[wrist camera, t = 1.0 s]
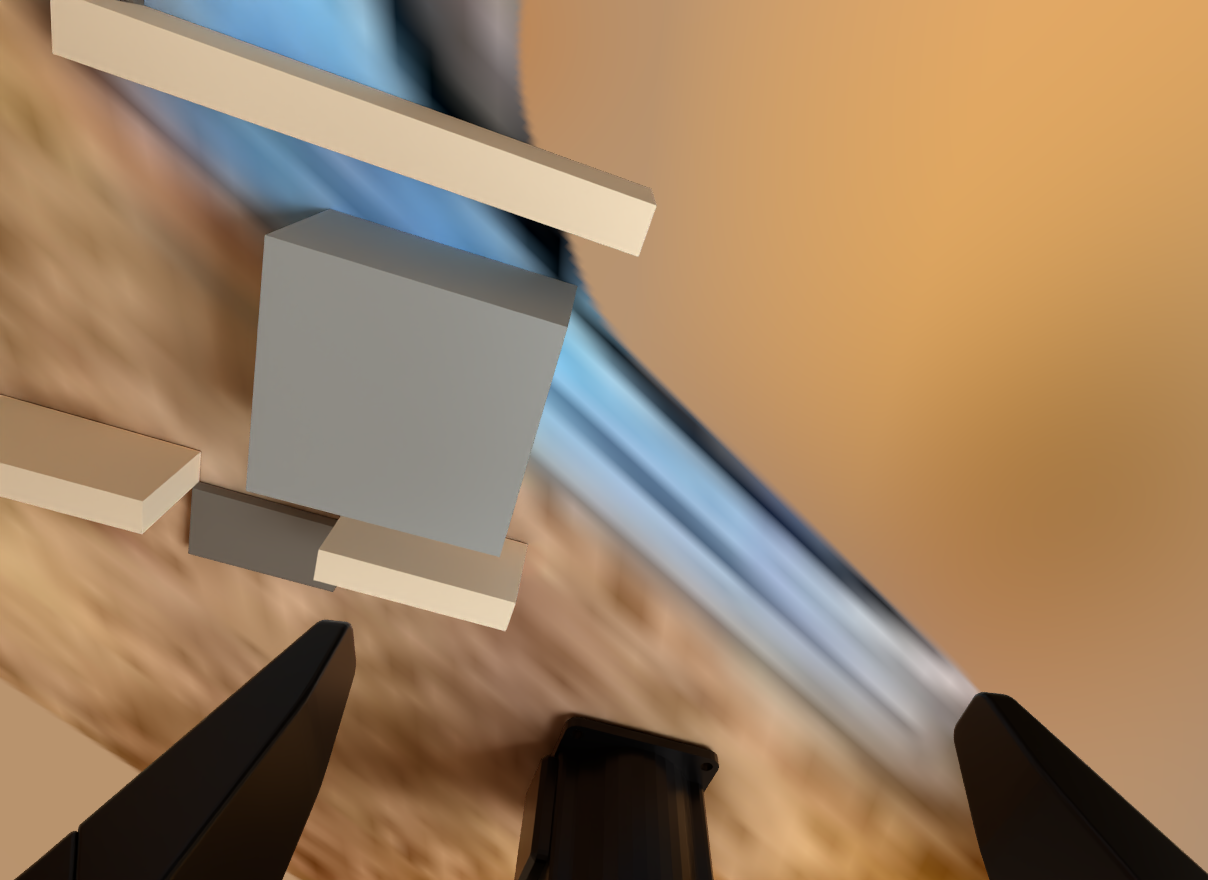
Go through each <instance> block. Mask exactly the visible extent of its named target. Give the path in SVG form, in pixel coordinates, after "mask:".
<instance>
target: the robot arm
mask: <svg viewBox="0 0 1208 880" xmlns="http://www.w3.org/2000/svg"><path fill="white" fill-rule="evenodd" d="M355 668H356V657H355V646H354V636H353V628H352V626H351V624H350V623H348V622H343V621H334V620H321V621H319V622H317V623H316V624H315V625H313V626H312V627H311V628H310V629H309V630H308V631H306V632H305V633H304V634H303V635H302V636H301V637H299V638H298V639H297V640H296V641H295V642H294V643H292V644H291V645H290V646H289V647H288V648H287V649H285V650H284V651H283V652H282V653H281V654H279V655H278V656H277V657H276V658H275V659H274V660H272V661H271V662H270V663H269V664H268V665H267V666H265V667H264V668H263V669H262V670H261V671H260V672H258V673H257V674H256V675H255V676H254V677H253V678H251V679H250V680H249V681H248V682H247V683H245V684H244V685H243V686H242V687H241V688H240V689H238V690H237V691H236V692H235V693H234V694H233V695H231V696H230V697H229V698H228V699H227V700H226V701H224V702H223V703H222V704H221V705H220V706H219V707H217V708H216V709H215V710H214V711H213V712H212V713H210V714H209V715H208V716H207V717H206V718H204V719H203V720H202V721H201V722H200V723H199V724H197V725H196V726H195V727H194V728H193V729H192V730H190V731H189V732H188V733H187V734H186V735H185V736H183V737H182V738H181V739H180V740H179V741H178V742H176V743H175V744H174V745H173V746H172V747H170V748H169V749H168V750H167V751H166V752H165V753H163V754H162V755H161V756H160V757H159V758H158V759H156V760H155V761H154V762H153V763H152V764H151V765H149V766H148V767H147V768H146V769H145V770H144V771H142V772H141V773H140V774H139V775H138V776H137V777H135V778H134V779H133V780H132V781H131V782H130V783H128V784H127V785H126V786H125V787H124V788H122V789H121V790H120V791H119V792H118V793H117V794H115V795H114V796H113V797H112V798H111V799H110V800H108V801H107V802H106V803H105V804H104V805H103V806H101V807H100V808H99V809H98V810H97V811H95V812H94V813H93V814H92V815H91V816H90V817H88V818H87V819H86V820H85V821H84V822H83V823H82V824H80V826H79V828H78V832H77V831H73V832H71V833H69V834H68V835H67V836H66V837H65V838H63V839H62V840H61V841H60V842H59V843H58V844H56V845H55V846H54V847H53V848H52V849H51V850H50V851H48V852H47V853H46V854H45V855H44V856H42V857H41V858H40V859H39V860H38V861H37V862H35V863H34V864H33V865H32V866H30V867H29V868H28V869H27V870H25V871H24V872H23V873H22V874H21V875H19V876H18V877H17V878H16V879H14V880H282V879H283V877H284V874H285V872H286V870H287V867H288V865H289V863H290V860H291V858H292V855H293V853H294V851H295V848H296V846H297V843H298V841H299V839H300V836H301V834H302V832H303V829H304V827H305V824H306V822H307V820H308V817H309V815H310V812H311V810H312V808H313V805H314V803H315V800H316V798H317V795H318V793H319V790H320V787H321V785H322V781H323V778H324V775H325V772H326V769H327V766H328V762H329V759H330V755H331V752H332V749H333V745H334V742H335V739H336V735H337V732H338V729H339V725H340V722H341V719H342V715H343V712H344V708H345V705H346V702H347V698H348V695H349V692H350V688H351V685H352V682H353V678H354V674H355ZM954 743H955V748H956V752H957V756H958V761H959V765H960V769H961V773H962V778H963V782H964V786H965V790H966V795H967V799H968V803H969V808H970V812H971V816H972V820H973V825H974V829H975V833H976V837H977V840H978V844H979V848H980V852H981V855H982V858H983V861H984V864H985V868H986V871H987V874H988V877H989V879H990V880H1208V873H1206V872H1205V871H1204V870H1203V869H1202V868H1201V867H1200V866H1199V865H1198V864H1197V863H1195V862H1194V861H1193V860H1192V859H1191V858H1190V857H1189V856H1188V855H1186V854H1185V853H1184V852H1183V851H1182V850H1181V849H1180V848H1179V847H1178V846H1177V845H1175V844H1174V843H1173V842H1172V841H1171V840H1170V839H1169V838H1168V837H1166V836H1165V835H1164V834H1163V833H1162V832H1161V831H1160V830H1159V829H1158V828H1156V827H1155V826H1154V825H1153V824H1152V823H1151V822H1150V821H1149V820H1148V819H1147V818H1145V817H1144V816H1143V815H1142V814H1141V813H1140V812H1139V811H1138V810H1136V809H1135V808H1134V807H1133V806H1132V805H1131V804H1130V803H1129V802H1128V801H1127V800H1125V799H1124V798H1123V797H1122V796H1121V795H1120V794H1119V793H1118V792H1116V790H1114V789H1113V788H1112V787H1111V786H1110V785H1109V784H1108V783H1107V782H1105V781H1104V780H1103V779H1102V778H1101V777H1100V776H1099V775H1098V774H1097V773H1096V772H1094V771H1093V770H1092V769H1091V768H1090V767H1088V765H1086V764H1085V763H1084V762H1083V761H1082V760H1081V759H1080V758H1079V757H1078V756H1077V755H1076V754H1074V753H1073V752H1072V751H1071V750H1070V749H1069V748H1068V747H1067V746H1065V745H1064V744H1063V743H1062V742H1061V741H1060V740H1059V739H1058V738H1057V737H1056V736H1054V735H1053V734H1052V733H1051V732H1050V731H1049V730H1048V729H1047V728H1046V727H1044V726H1043V725H1042V724H1041V723H1040V722H1039V721H1038V720H1037V719H1036V718H1034V717H1033V716H1032V715H1031V714H1030V713H1029V712H1028V711H1027V710H1026V709H1025V708H1023V707H1022V706H1021V705H1020V704H1019V703H1018V702H1017V701H1016V700H1014V699H1013V698H1012V697H1010V696H1008V695H1004V694H997V693H988V692H980V693H978V694H977V695H975V696H974V698H973V699H972V701H971V702H970V704H969V705H968V707H967V708H966V710H965V711H964V713H963V714H962V716H961V717H960V719H959V720H958V722H957V723H956V725H955V729H954ZM718 768H719V763H718V757H717V754H716V753H715V752H713V751H710V750H707V749H703V748H699V747H695V746H691V745H687V744H683V743H679V742H675V741H671V740H667V739H663V738H659V737H655V736H651V735H647V734H643V733H640V732H636V731H632V730H628V729H624V728H620V727H616V726H612V725H608V724H604V723H600V722H596V721H592V720H588V719H584V718H579V717H575V718H571V719H569V720H568V721H567V722H566V724H565V726H564V728H563V730H562V733H561V735H560V737H559V739H558V742H557V744H556V746H555V748H554V750H553V753H552V755H551V756H550V755H547V756H545V757H544V758H542V759H541V762H540V764H539V766H538V768H537V771H536V773H535V775H534V778H533V780H532V782H531V784H530V787H529V789H528V791H527V794H526V799H525V806H524V813H523V821H522V828H521V835H520V842H519V850H518V857H517V864H516V872H515V879H514V880H714V879H713V870H712V861H711V853H710V844H709V835H708V827H707V818H706V809H705V801H704V791H705V790H706V788H707V787H708V785H709V783H710V782H711V780H712V779H713V777H714V775H715V774H716V772H717V771H718Z"/></svg>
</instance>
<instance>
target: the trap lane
mask: <svg viewBox="0 0 1208 880" xmlns="http://www.w3.org/2000/svg"><path fill="white" fill-rule="evenodd" d="M50 7H51V32H52V54H55V55H58V56H61V57H64V58H67V59H70V60H72V61H75V62H78V63H81V64H84V65H87V66H90V67H93V68H96V69H98V70H101V71H104V72H107V73H110V74H113V75H116V76H119V77H121V78H124V79H127V80H130V81H133V82H136V83H139V84H142V85H145V86H147V87H150V88H153V89H156V90H159V91H162V92H165V93H168V94H170V95H173V96H176V97H179V98H182V99H185V100H188V101H191V102H194V103H196V104H199V105H202V106H205V107H208V108H211V109H214V110H217V111H219V112H222V113H225V114H228V115H231V116H234V117H237V118H240V119H243V120H245V121H248V122H251V123H254V124H257V125H260V126H263V127H266V128H269V129H271V130H274V131H277V132H280V133H283V134H286V135H289V136H292V137H294V138H297V139H300V140H303V141H306V142H309V143H312V144H315V145H318V146H320V147H323V148H326V149H329V150H332V151H335V152H338V153H341V154H343V155H346V156H349V157H352V158H355V159H358V160H361V161H364V162H367V163H369V164H372V165H375V166H378V167H381V168H384V169H387V170H390V171H392V172H395V173H398V174H401V175H404V176H407V177H410V178H413V179H416V180H418V181H421V182H424V183H427V184H430V185H433V186H436V187H439V188H442V189H444V190H447V191H450V192H453V193H456V194H459V195H462V196H465V197H467V198H470V199H473V200H476V201H479V202H482V203H485V204H488V205H491V206H493V207H496V208H499V209H502V210H505V211H508V212H511V213H514V214H516V215H519V216H522V217H525V218H528V219H531V220H534V221H537V222H540V223H542V224H545V225H548V226H551V227H554V228H557V229H560V230H563V231H565V232H568V233H571V234H574V235H577V236H580V237H583V238H586V239H589V240H591V241H595V242H597V243H600V244H603V245H606V246H609V247H612V248H615V249H618V250H620V251H623V252H626V253H629V254H632V255H635V256H639V253H640V251H641V248H642V245H643V242H644V239H645V237H646V234H647V231H648V228H649V225H650V223H651V220H652V217H653V214H654V211H655V209H656V203H655V199H654V196H653V192H652V189H651V188H648V187H645V186H643V185H640V184H637V183H634V182H632V181H629V180H626V179H623V178H621V177H618V176H615V175H612V174H609V173H607V172H604V171H601V170H598V169H596V168H592V167H590V166H587V165H584V164H582V163H579V162H576V161H573V160H571V159H568V158H565V157H562V156H559V155H557V154H554V153H551V152H548V151H546V150H543V149H540V148H537V147H535V146H532V145H529V144H526V143H524V142H521V141H518V140H515V139H512V138H510V137H507V136H504V135H501V134H499V133H496V132H493V131H490V130H488V129H485V128H482V127H479V126H476V125H474V124H471V123H468V122H465V121H463V120H460V119H457V118H454V117H452V116H449V115H446V114H443V113H440V112H438V111H435V110H432V109H429V108H427V107H424V106H421V105H418V104H416V103H413V102H410V101H407V100H404V99H402V98H399V97H396V96H393V95H391V94H388V93H385V92H382V91H380V90H377V89H374V88H371V87H368V86H366V85H363V84H360V83H357V82H355V81H352V80H349V79H346V78H344V77H341V76H338V75H335V74H332V73H330V72H327V71H324V70H321V69H319V68H316V67H313V66H310V65H308V64H305V63H302V62H299V61H296V60H294V59H291V58H288V57H285V56H283V55H280V54H277V53H274V52H272V51H269V50H266V49H263V48H260V47H258V46H255V45H252V44H249V43H247V42H244V41H241V40H238V39H236V38H233V37H230V36H227V35H224V34H222V33H219V32H216V31H213V30H211V29H208V28H205V27H202V26H200V25H197V24H194V23H191V22H188V21H186V20H183V19H180V18H177V17H175V16H172V15H169V14H166V13H164V12H161V11H158V10H155V9H152V8H150V7H147V6H144V5H139V4H134V3H128V2H123V1H117V0H50ZM200 461H201V451H197V450H194V449H190V448H187V447H183V446H180V445H176V444H173V443H169V442H166V441H162V440H159V439H155V438H152V437H148V436H145V435H141V434H138V433H134V432H131V431H127V430H124V429H120V428H116V427H113V426H109V425H106V424H102V423H99V422H95V421H92V420H88V419H85V418H81V417H78V416H74V415H71V414H67V413H64V412H60V411H57V410H53V409H50V408H46V407H43V406H39V405H36V404H32V403H29V402H25V401H21V400H18V399H14V398H11V397H7V396H4V395H0V497H4V498H8V499H11V500H15V501H19V502H23V503H26V504H30V505H34V506H38V507H41V508H45V509H49V510H53V511H56V512H60V513H64V514H68V515H71V516H75V517H79V518H83V519H86V520H90V521H94V522H98V523H101V524H105V525H109V526H113V527H116V528H120V529H124V530H128V531H132V532H135V533H139V534H143V533H144V532H145V531H146V530H147V529H148V528H149V527H150V526H152V525H153V524H154V523H155V522H156V521H157V520H158V519H159V518H160V517H161V516H162V515H163V514H165V513H166V512H167V511H168V510H169V509H170V508H171V507H172V506H173V505H174V504H175V503H177V502H178V501H179V500H180V499H181V498H182V497H183V496H184V495H185V494H186V493H187V492H188V491H190V490H191V489H192V488H193V487H194V486H195V485H196V484H197V483H198V482H199V476H200ZM527 547H528V544H525V543H521V542H518V541H514V540H510V539H507V538H505V541H504V544H503V548H502V551H501V554H500V557H497V556H493V555H490V554H486V553H482V552H478V551H474V550H470V549H467V548H463V547H459V546H455V545H451V544H447V543H444V542H440V541H436V540H432V539H428V538H424V537H421V536H417V535H413V534H409V533H405V532H401V531H398V530H394V529H390V528H386V527H382V526H379V525H375V524H371V523H367V522H363V521H359V520H356V519H352V518H348V517H344V516H340V518H339V519H338V521H337V522H336V524H335V526H334V527H333V529H332V530H331V532H330V533H329V535H328V536H327V538H326V539H325V541H324V542H323V544H322V545H321V547H320V548H319V550H318V556H317V562H316V568H315V574H314V579H313V580H315V581H319V582H323V583H327V584H330V585H334V586H338V587H342V588H345V589H349V590H353V591H357V592H360V593H364V594H368V595H372V596H375V597H379V598H383V599H387V600H390V601H394V602H398V603H402V604H405V605H409V606H413V607H417V608H420V609H424V610H428V611H432V612H435V613H439V614H443V615H447V616H450V617H454V618H458V619H462V620H465V621H469V622H473V623H477V624H481V625H484V626H488V627H492V628H496V629H499V630H503V631H506V629H507V626H508V623H509V621H510V618H511V615H512V612H513V609H514V607H515V604H516V599H517V595H518V590H519V585H520V580H521V575H522V571H523V566H524V561H525V556H526V551H527Z"/></svg>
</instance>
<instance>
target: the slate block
mask: <svg viewBox="0 0 1208 880" xmlns="http://www.w3.org/2000/svg"><path fill="white" fill-rule="evenodd" d="M576 290H577V286H576V285H572V284H569V283H566V282H563V281H560V280H556V279H553V278H550V277H547V276H544V275H540V274H537V273H534V272H531V271H528V270H524V269H521V268H518V267H515V266H512V265H508V264H505V263H502V262H499V261H496V260H492V259H489V258H486V257H483V256H480V255H476V254H473V253H470V252H467V251H464V250H460V249H457V248H454V247H451V246H448V245H444V244H441V243H438V242H435V241H432V240H428V239H425V238H422V237H419V236H416V235H412V234H409V233H406V232H403V231H400V230H396V229H393V228H390V227H387V226H384V225H380V224H377V223H374V222H371V221H368V220H364V219H361V218H358V217H355V216H352V215H348V214H345V213H342V212H339V211H336V210H332V209H328V210H326V211H323V212H321V213H318V214H316V215H313V216H311V217H308V218H306V219H303V220H301V221H298V222H296V223H293V224H291V225H288V226H286V227H283V228H281V229H278V230H276V231H273V232H271V233H268V234H266V235H265V239H264V252H263V266H262V279H261V293H260V306H259V320H258V333H257V347H256V360H255V374H254V388H253V401H252V415H251V428H250V442H249V455H248V469H247V482H246V491H248V492H252V493H256V494H260V495H264V496H268V497H271V498H275V499H279V500H283V501H287V502H291V503H294V504H298V505H302V506H306V507H310V508H313V509H317V510H321V511H325V512H329V513H333V514H336V515H340V516H344V517H348V518H352V519H356V520H359V521H363V522H367V523H371V524H375V525H379V526H382V527H386V528H390V529H394V530H398V531H401V532H405V533H409V534H413V535H417V536H421V537H424V538H428V539H432V540H436V541H440V542H444V543H447V544H451V545H455V546H459V547H463V548H467V549H470V550H474V551H478V552H482V553H486V554H490V555H493V556H497V557H500V554H501V551H502V548H503V544H504V541H505V537H506V534H507V531H508V527H509V524H510V521H511V517H512V514H513V510H514V507H515V504H516V500H517V497H518V493H519V490H520V487H521V483H522V480H523V477H524V473H525V470H526V466H527V463H528V460H529V456H530V453H531V449H532V446H533V443H534V439H535V436H536V433H537V429H538V426H539V422H540V419H541V416H542V412H543V409H544V405H545V402H546V399H547V395H548V392H549V389H550V385H551V382H552V378H553V375H554V372H555V368H556V365H557V361H558V358H559V355H560V351H561V348H562V345H563V341H564V338H565V334H566V331H567V328H568V323H569V319H570V315H571V311H572V307H573V302H574V298H575V294H576Z"/></svg>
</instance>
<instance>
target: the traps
mask: <svg viewBox="0 0 1208 880" xmlns="http://www.w3.org/2000/svg"><path fill="white" fill-rule="evenodd" d="M125 1H128V2H131V3H134V4H139V5H144V0H125ZM337 521H338V520H335V519H331V518H328V517H324V516H321V515H317V514H313V513H310V512H306V511H303V510H299V509H295V508H292V507H288V506H285V505H281V504H277V503H274V502H270V501H267V500H263V499H260V498H256V497H252V496H249V495H245V494H242V493H238V492H234V491H231V490H227V489H224V488H220V487H216V486H213V485H209V484H206V483H202V482H198V483H197V484H196V485H195V486H194V487H193V488H192V502H191V518H190V535H189V551H188V554H192V555H195V556H199V557H203V558H207V559H211V560H214V561H218V562H222V563H226V564H229V565H233V566H237V567H241V568H244V569H248V570H252V571H256V572H260V573H263V574H267V575H271V576H275V577H278V578H282V579H286V580H290V581H293V582H297V583H301V584H305V585H309V586H312V587H316V588H320V589H324V590H327V591H331V592H333V591H334V590H335V588H336V586H334V585H330V584H327V583H323V582H319V581H315V580H313V579H314V574H315V568H316V562H317V556H318V550H319V548H320V547H321V545H322V544H323V542H324V541H325V539H326V538H327V536H328V535H329V533H330V532H331V530H332V529H333V527H334V526H335V524H336V522H337Z"/></svg>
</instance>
